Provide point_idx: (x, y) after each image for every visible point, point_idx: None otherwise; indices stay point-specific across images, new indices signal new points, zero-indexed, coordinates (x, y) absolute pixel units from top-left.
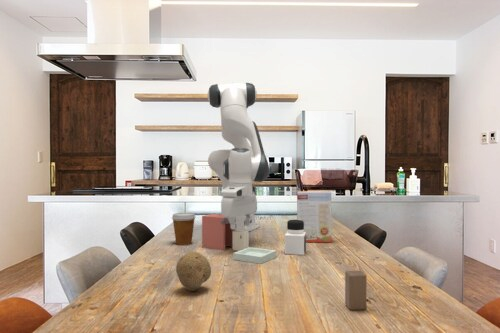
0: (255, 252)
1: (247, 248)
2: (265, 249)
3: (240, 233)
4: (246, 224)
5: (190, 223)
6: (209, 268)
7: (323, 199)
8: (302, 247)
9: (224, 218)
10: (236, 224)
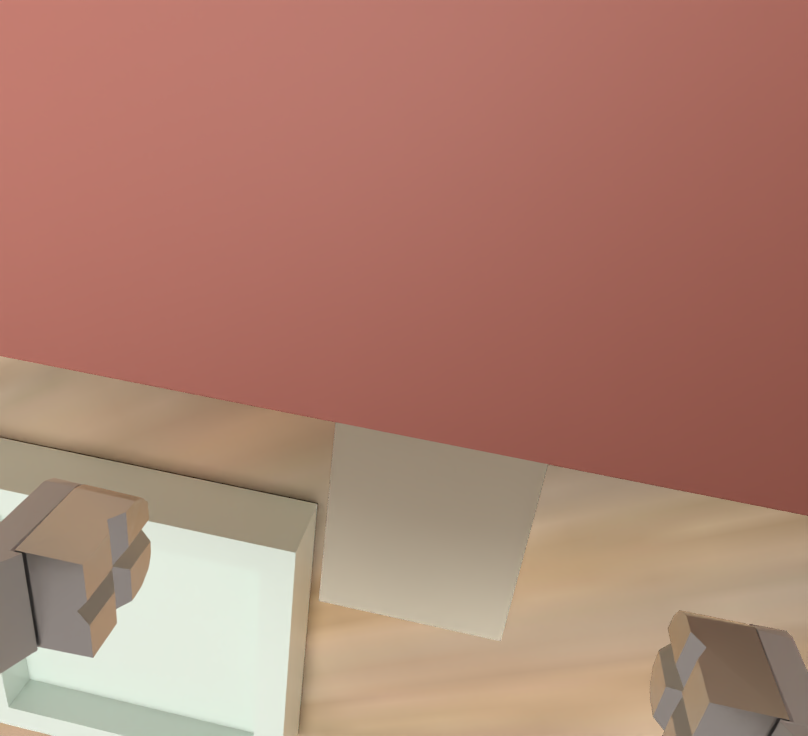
0: (247, 600)
1: (217, 549)
2: (271, 711)
3: (328, 527)
4: (661, 682)
5: None
6: None
7: None
8: None
9: (18, 336)
10: (94, 648)
